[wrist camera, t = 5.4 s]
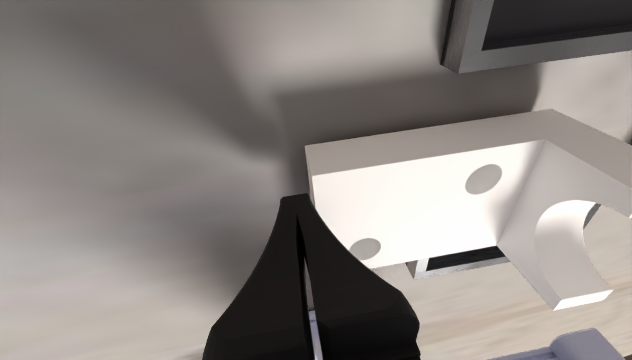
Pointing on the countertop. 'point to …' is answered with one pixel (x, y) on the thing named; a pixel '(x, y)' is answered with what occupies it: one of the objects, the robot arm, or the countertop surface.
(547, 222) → the bracket
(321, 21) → the countertop surface
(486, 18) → the trap pits
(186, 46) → the countertop surface
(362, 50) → the countertop surface
